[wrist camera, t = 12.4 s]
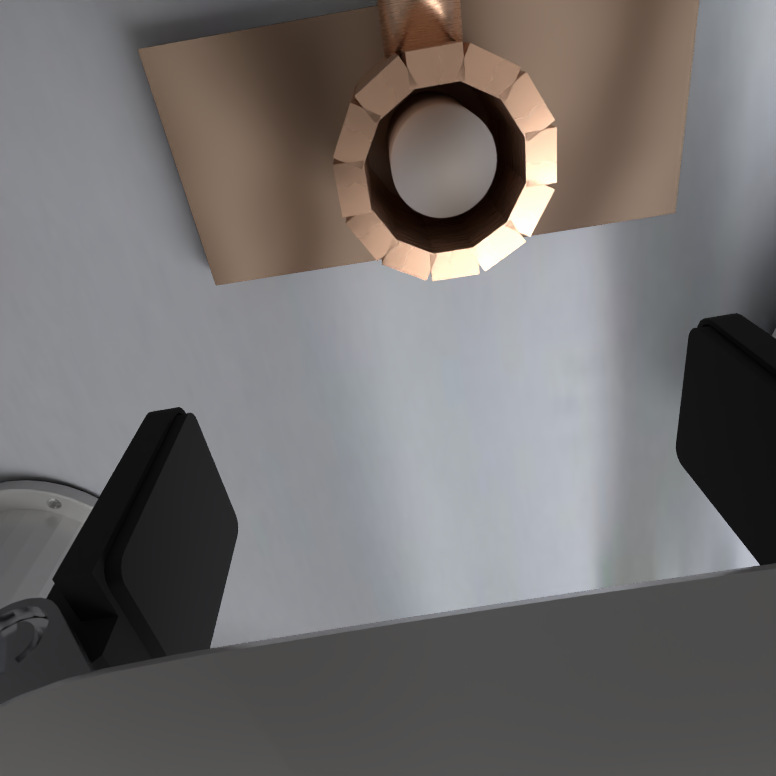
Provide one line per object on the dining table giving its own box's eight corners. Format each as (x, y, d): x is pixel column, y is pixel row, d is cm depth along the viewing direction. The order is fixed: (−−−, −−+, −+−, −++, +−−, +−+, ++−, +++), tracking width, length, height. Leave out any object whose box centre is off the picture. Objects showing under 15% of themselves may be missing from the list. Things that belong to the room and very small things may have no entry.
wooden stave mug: (359, 235, 27) (357, 292, 21) (305, -66, 21) (280, -106, 15) (513, 210, 26) (556, 261, 20) (502, -104, 20) (557, -160, 14)
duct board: (222, 274, 29) (181, 341, 23) (149, 48, 24) (69, 53, 17) (661, 204, 28) (748, 255, 21) (686, -50, 23) (811, -84, 16)
